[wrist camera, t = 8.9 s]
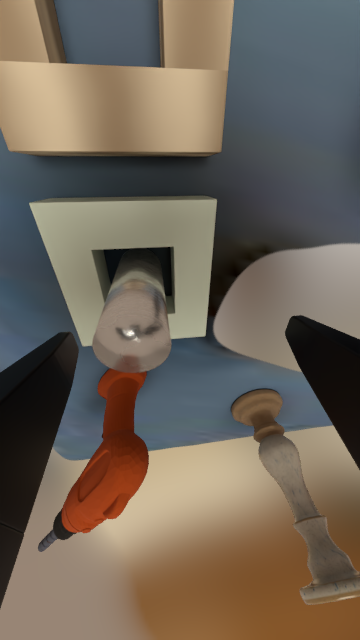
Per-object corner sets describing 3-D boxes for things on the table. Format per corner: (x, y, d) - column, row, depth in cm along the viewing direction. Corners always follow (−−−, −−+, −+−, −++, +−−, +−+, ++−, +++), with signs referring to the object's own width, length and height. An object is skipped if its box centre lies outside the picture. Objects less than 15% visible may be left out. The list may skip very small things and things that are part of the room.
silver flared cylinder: (160, 246, 19) (170, 312, 10) (162, 286, 21) (172, 369, 12) (115, 248, 18) (82, 318, 9) (122, 289, 21) (102, 376, 12)
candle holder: (283, 383, 33) (412, 585, 17) (276, 412, 39) (371, 589, 22) (230, 394, 33) (309, 607, 17) (230, 421, 38) (291, 605, 22)
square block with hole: (205, 195, 17) (217, 199, 14) (198, 316, 24) (205, 336, 21) (50, 198, 16) (28, 203, 13) (91, 324, 22) (82, 346, 20)
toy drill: (54, 434, 31) (0, 593, 18) (122, 348, 26) (113, 486, 13) (85, 441, 33) (55, 588, 21) (153, 363, 28) (171, 493, 16)
